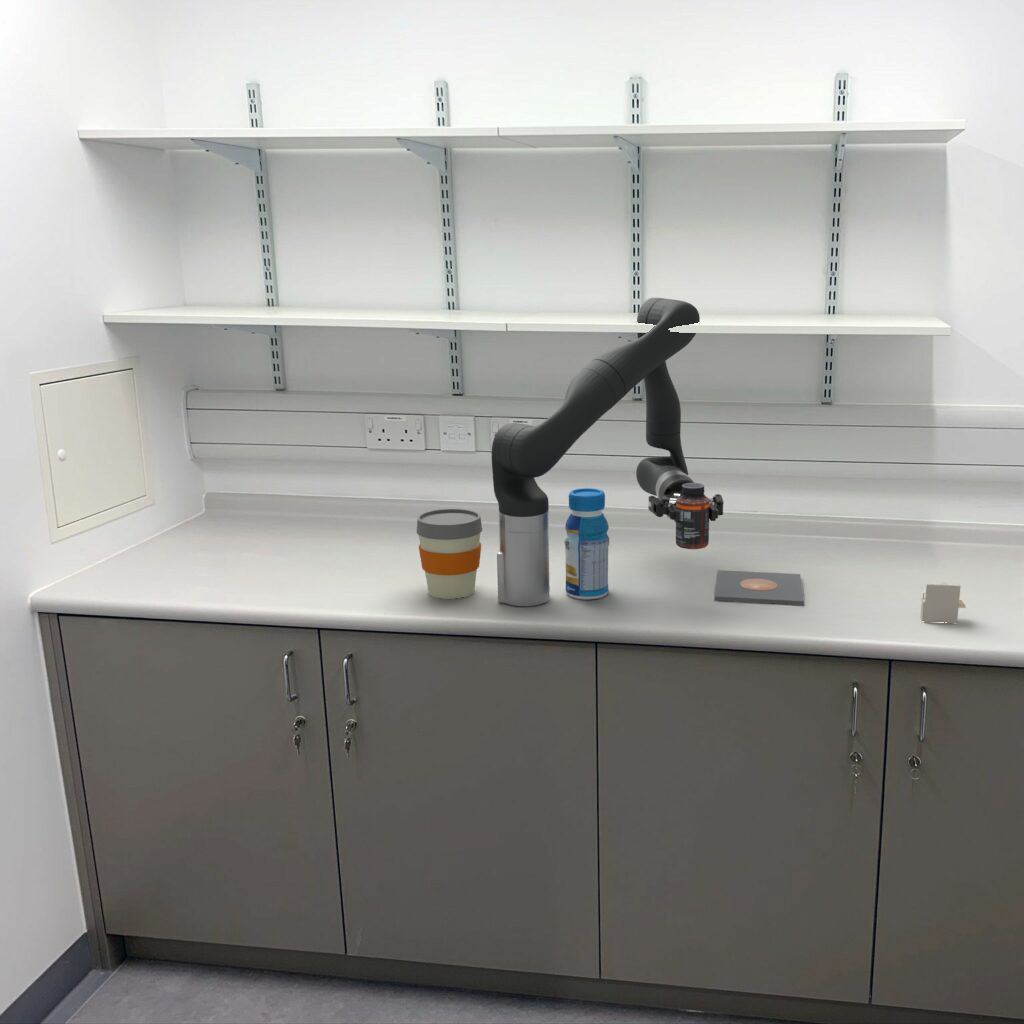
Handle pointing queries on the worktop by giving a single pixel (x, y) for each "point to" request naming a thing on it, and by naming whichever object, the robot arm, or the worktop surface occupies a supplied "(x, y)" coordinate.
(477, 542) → the reusable coffee cup
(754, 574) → the mat
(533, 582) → the robot arm
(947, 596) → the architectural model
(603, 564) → the beverage bottle
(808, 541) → the worktop surface
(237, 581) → the worktop surface
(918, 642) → the worktop surface
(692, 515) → the supplement bottle
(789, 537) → the worktop surface
